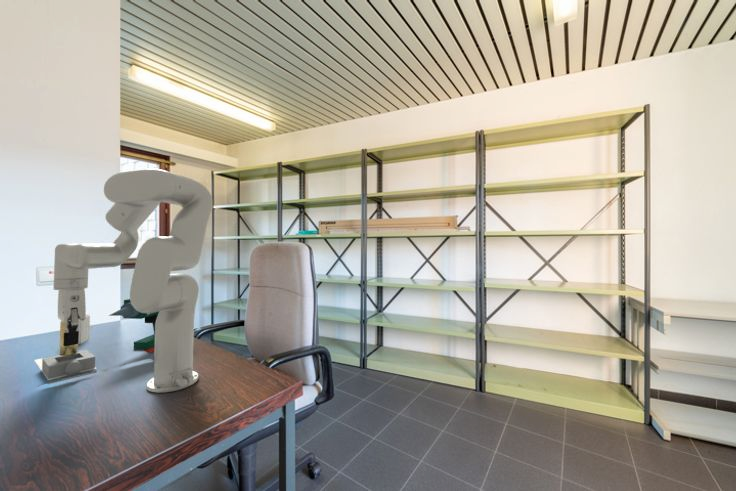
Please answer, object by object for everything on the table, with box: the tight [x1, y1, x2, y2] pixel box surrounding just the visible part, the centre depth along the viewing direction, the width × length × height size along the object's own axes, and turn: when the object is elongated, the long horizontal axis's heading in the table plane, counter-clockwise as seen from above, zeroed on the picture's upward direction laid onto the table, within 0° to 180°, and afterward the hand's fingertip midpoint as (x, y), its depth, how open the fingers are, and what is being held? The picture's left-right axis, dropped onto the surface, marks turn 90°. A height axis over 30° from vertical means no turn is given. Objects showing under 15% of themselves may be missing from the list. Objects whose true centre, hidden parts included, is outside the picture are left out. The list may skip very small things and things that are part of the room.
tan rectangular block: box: [58, 320, 79, 356], centre depth 92 cm, size 4×4×10 cm
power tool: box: [108, 298, 159, 354], centre depth 113 cm, size 32×7×20 cm, turn 179°
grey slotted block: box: [33, 349, 97, 385], centre depth 95 cm, size 25×10×5 cm, turn 54°
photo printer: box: [78, 311, 91, 345], centre depth 118 cm, size 10×4×12 cm, turn 28°
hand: (69, 342), depth 92 cm, fingers closed on tan rectangular block, 4 cm apart
